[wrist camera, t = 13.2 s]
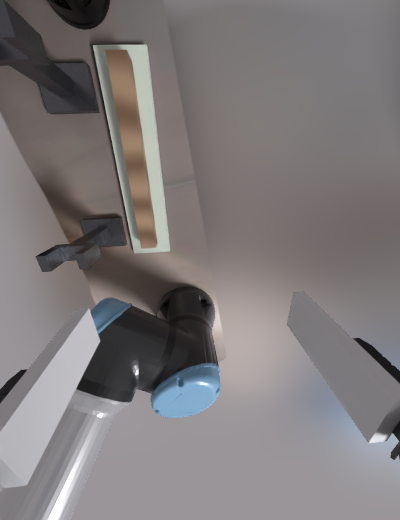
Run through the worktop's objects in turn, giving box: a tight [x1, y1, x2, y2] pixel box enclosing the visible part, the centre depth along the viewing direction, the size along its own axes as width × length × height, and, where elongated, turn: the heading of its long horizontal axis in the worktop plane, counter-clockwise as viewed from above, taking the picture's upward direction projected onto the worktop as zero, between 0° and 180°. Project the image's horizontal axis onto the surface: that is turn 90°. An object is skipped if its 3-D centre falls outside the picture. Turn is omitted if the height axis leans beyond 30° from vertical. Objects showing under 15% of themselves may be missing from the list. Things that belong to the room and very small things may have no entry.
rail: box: [105, 50, 158, 249], centre depth 34 cm, size 30×3×3 cm, turn 2°
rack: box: [0, 0, 127, 272], centre depth 29 cm, size 30×8×16 cm, turn 2°
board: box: [93, 45, 170, 254], centre depth 36 cm, size 34×8×1 cm, turn 2°
